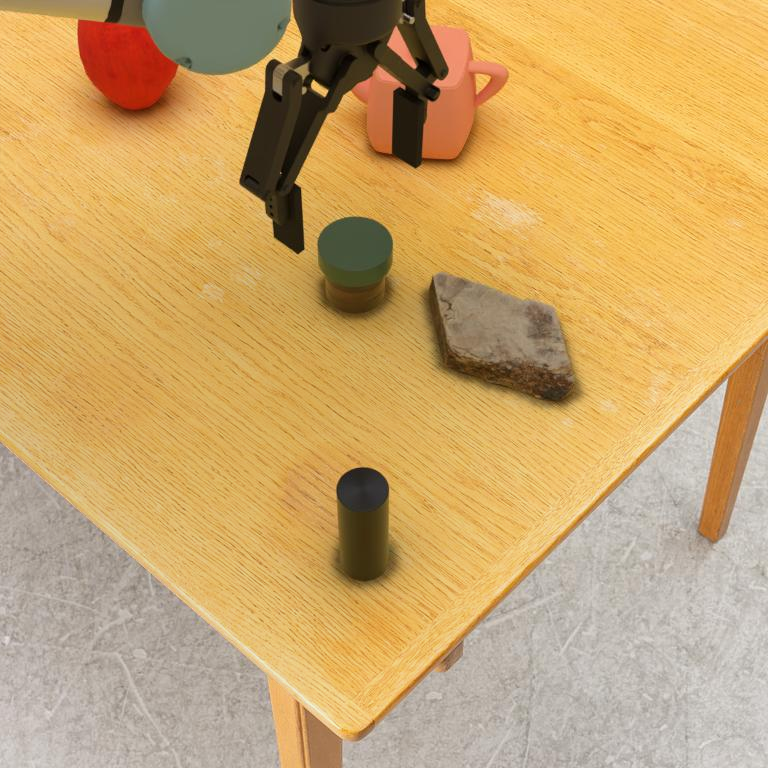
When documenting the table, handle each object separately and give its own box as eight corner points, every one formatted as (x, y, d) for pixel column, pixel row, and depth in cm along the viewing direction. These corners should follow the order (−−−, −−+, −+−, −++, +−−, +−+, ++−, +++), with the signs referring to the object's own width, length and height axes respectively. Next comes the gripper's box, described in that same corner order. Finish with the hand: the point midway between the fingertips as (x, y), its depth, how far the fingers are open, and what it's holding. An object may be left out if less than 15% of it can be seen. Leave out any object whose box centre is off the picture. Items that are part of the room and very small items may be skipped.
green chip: (322, 290, 98) (321, 274, 97) (314, 236, 102) (313, 219, 101) (397, 282, 99) (398, 266, 97) (387, 229, 103) (387, 212, 101)
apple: (208, 100, 120) (193, -3, 110) (128, 144, 116) (105, 40, 106) (151, 55, 124) (132, -49, 114) (72, 95, 120) (45, -9, 110)
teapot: (497, 174, 113) (506, 87, 105) (313, 154, 115) (308, 67, 106) (507, 98, 120) (517, 11, 112) (334, 81, 122) (331, -7, 113)
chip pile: (351, 323, 102) (350, 291, 98) (314, 289, 104) (312, 256, 101) (396, 295, 104) (397, 262, 100) (359, 261, 106) (359, 229, 103)
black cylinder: (343, 584, 86) (339, 514, 78) (337, 542, 88) (333, 469, 81) (391, 579, 87) (392, 508, 79) (384, 536, 89) (385, 464, 81)
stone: (594, 337, 101) (600, 314, 98) (566, 409, 96) (571, 387, 94) (432, 288, 104) (434, 264, 102) (398, 355, 99) (398, 332, 97)
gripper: (247, 75, 71) (269, 307, 88) (509, -86, 82) (484, 147, 99) (166, 23, 74) (202, 257, 91) (429, -126, 85) (418, 106, 102)
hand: (349, 200), depth 95 cm, fingers open, 13 cm apart
